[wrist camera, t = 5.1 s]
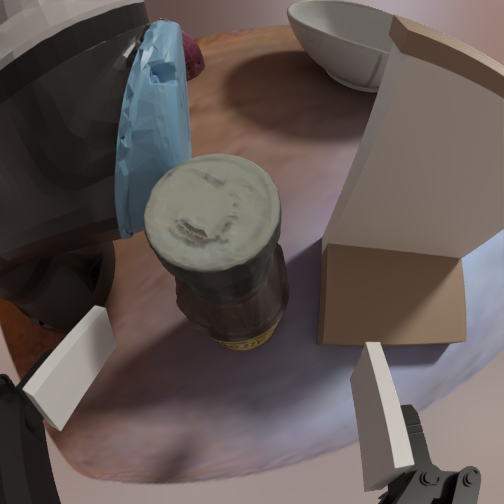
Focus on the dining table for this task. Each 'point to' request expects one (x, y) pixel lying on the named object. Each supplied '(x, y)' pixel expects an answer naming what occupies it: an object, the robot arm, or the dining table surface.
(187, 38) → the vegetable
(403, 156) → the upright board stand
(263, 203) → the sauce bottle
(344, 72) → the decorative bowl
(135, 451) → the dining table surface
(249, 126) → the dining table surface
